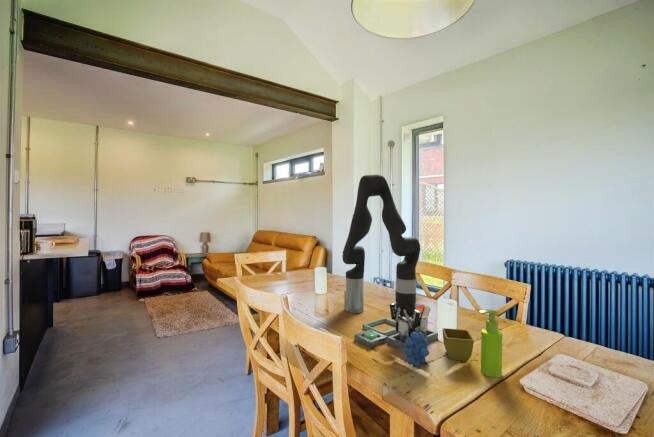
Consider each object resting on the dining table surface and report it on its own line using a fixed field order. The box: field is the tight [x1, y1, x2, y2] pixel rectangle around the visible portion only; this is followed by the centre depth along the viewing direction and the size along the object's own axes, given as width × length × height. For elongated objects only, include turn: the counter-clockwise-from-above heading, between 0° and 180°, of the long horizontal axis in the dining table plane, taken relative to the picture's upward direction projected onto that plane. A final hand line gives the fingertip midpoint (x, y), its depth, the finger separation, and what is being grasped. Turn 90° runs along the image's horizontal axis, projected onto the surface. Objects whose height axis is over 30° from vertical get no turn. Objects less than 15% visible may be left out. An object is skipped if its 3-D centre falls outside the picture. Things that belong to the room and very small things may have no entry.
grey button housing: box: [353, 329, 389, 349], centre depth 119 cm, size 9×9×3 cm
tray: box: [362, 317, 398, 337], centre depth 131 cm, size 12×14×3 cm
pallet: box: [387, 328, 439, 351], centre depth 119 cm, size 19×9×3 cm, turn 127°
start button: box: [364, 332, 377, 340], centre depth 119 cm, size 5×5×3 cm
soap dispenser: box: [478, 308, 503, 378], centre depth 97 cm, size 6×7×20 cm
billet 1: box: [397, 317, 410, 343], centre depth 116 cm, size 5×5×8 cm
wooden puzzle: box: [397, 302, 431, 318], centre depth 157 cm, size 18×19×4 cm
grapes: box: [402, 332, 430, 368], centre depth 100 cm, size 12×7×12 cm, turn 125°
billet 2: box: [415, 316, 429, 336], centre depth 122 cm, size 5×5×8 cm
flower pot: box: [442, 327, 475, 363], centre depth 106 cm, size 9×9×9 cm
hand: (405, 334), depth 116 cm, fingers open, 5 cm apart
